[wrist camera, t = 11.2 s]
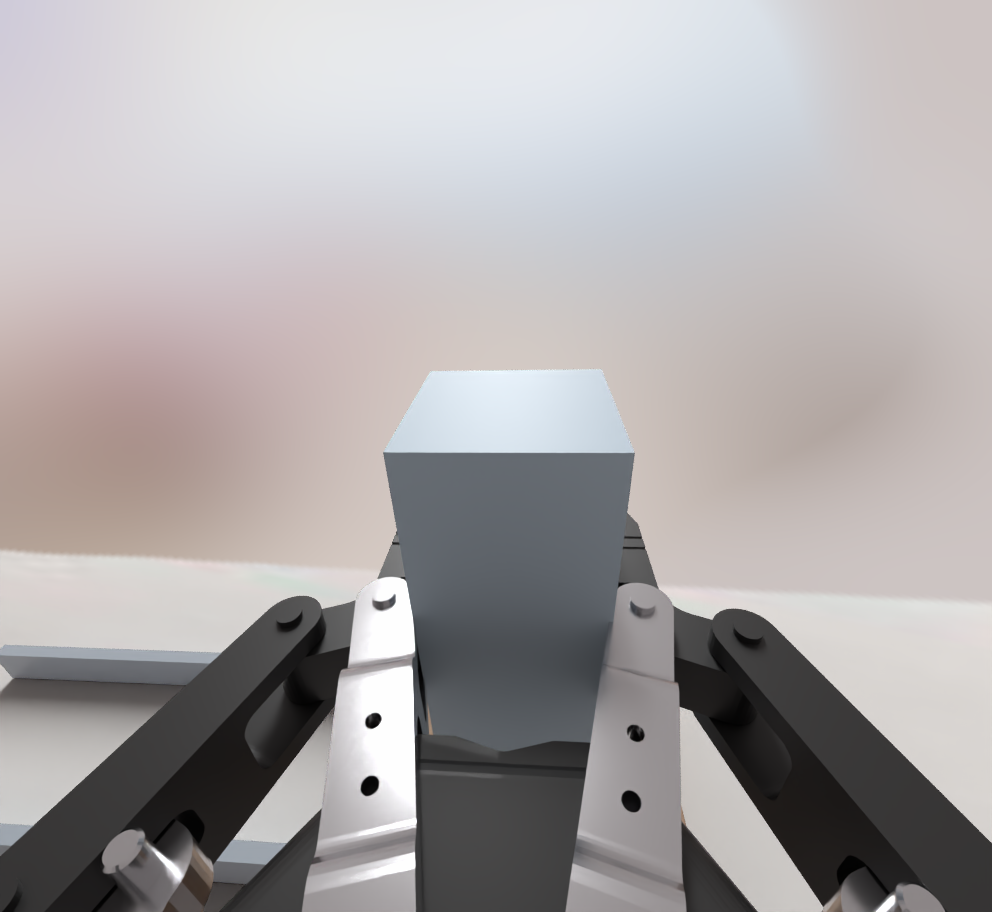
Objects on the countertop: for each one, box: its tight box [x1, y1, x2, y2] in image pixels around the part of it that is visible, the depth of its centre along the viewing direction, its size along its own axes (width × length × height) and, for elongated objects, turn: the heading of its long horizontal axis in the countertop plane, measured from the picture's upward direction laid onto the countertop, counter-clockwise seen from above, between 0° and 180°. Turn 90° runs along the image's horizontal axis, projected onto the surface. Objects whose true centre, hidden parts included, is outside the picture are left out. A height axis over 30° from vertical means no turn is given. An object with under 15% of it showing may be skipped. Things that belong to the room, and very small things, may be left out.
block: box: [383, 369, 635, 751], centre depth 12 cm, size 4×4×12 cm
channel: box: [0, 645, 286, 884], centre depth 17 cm, size 16×7×2 cm, turn 86°
